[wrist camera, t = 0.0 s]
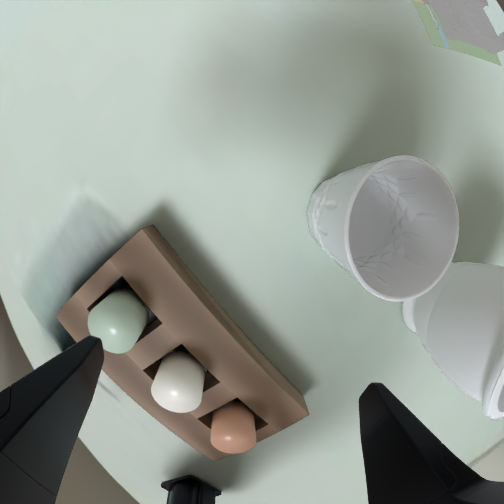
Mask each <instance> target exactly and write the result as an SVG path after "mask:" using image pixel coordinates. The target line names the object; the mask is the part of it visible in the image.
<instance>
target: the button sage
mask: <svg viewBox="0 0 504 504" xmlns="http://www.w3.org/2000/svg"><path fill="white" fill-rule="evenodd" d="M148 321H149V310H148V306H147V305H146V304H145V303H144V301H143V300H142V299H141V298H140V297H139V296H138V294H137V293H136V292H134V291H132V290H130V289H124V288H123V289H117V290H115V291H113V292H112V293H110V294H109V295H108V296H107V297H106V298H105V299H103V300H102V301H101V302H100V303H99V304H98V305H96V306H95V307H94V308H93V309H92V310H91V312H90V313H89V316H88V329H89V332H90V334H91V335H92V336H95V337H98V338H100V339H101V340H102V344H103V349H104V350H106V351H109V352H111V353H116V354H120V353H125V352H128V351H129V350H130V349H132V347H133V346H134V344H135V343H136V341H137V340H138V338H139V336H140V335H141V333H142V332H143V330H144V328H145V327H146V325H147V324H148Z"/></svg>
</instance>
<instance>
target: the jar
mask: <svg viewBox="0 0 504 504" xmlns="http://www.w3.org/2000/svg"><path fill="white" fill-rule="evenodd" d="M402 315H403V319H404V322H405V324H406V326H407V327H408V328H409V329H410V330H411V331H413V332H415V333H417V334H418V337H419V339H420V341H421V343H422V345H423V346H424V348H425V349H426V351H427V352H428V353H429V354H430V355H431V357H432V359H433V360H434V362H435V363H436V365H437V366H438V368H439V369H440V370H441V372H442V373H443V374H444V375H445V376H446V377H447V378H448V379H449V380H450V381H451V382H452V383H453V384H454V385H455V386H456V387H458V388H459V389H460V390H461V391H463V392H464V393H466V394H467V395H469V396H471V397H472V398H474V399H476V400H479V401H481V402H482V409H483V412H484V414H485V415H486V416H487V417H489V418H490V419H491V420H498V419H501V418H503V417H504V267H502V266H497V265H492V264H481V263H474V262H456V263H454V262H453V261H452V262H451V264H450V266H449V267H448V269H447V271H446V272H445V274H444V275H443V277H442V278H441V279H440V280H439V282H438V283H437V284H436V285H435V286H434V287H432V288H431V289H430V290H429V291H427V292H426V293H424V294H423V295H421V296H419V297H417V298H414V299H411V300H407V301H403V302H402Z"/></svg>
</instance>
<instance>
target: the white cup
mask: <svg viewBox="0 0 504 504" xmlns="http://www.w3.org/2000/svg"><path fill="white" fill-rule="evenodd" d="M307 218H308V225H309V231H310V232H311V234H312V235H313V237H314V238H315V240H316V241H317V243H318V245H319V246H320V247H321V248H323V249H324V250H325V252H326V253H327V254H328V255H329V256H330V257H331V258H332V259H334V261H335V262H336V263H337V264H339V265H340V266H341V267H342V268H343V269H344V270H345V271H347V272H348V273H349V274H350V275H351V276H352V277H353V278H354V279H356V280H357V281H358V282H359V283H360V284H361V285H362V286H363V287H364V288H365V289H366V290H368V291H369V292H370V293H372V294H373V295H375V296H377V297H379V298H381V299H384V300H388V301H396V302H398V301H407V300H411V299H414V298H417V297H419V296H421V295H423V294H424V293H426V292H427V291H429V290H430V289H431V288H432V287H434V286H435V285H436V284H437V283H438V282H439V280H440V279H441V278H442V277H443V275H444V274H445V272H446V271H447V269H448V267H449V266H450V264H451V262H452V259H453V257H454V254H455V251H456V247H457V243H458V238H459V212H458V206H457V202H456V199H455V196H454V193H453V191H452V189H451V187H450V185H449V183H448V181H447V180H446V179H445V177H444V176H443V175H442V173H441V172H440V171H439V170H438V169H437V168H436V167H434V166H433V165H432V164H430V163H429V162H427V161H425V160H423V159H421V158H418V157H415V156H409V155H398V156H393V157H389V158H386V159H383V160H379V161H376V162H372V163H369V164H365V165H362V166H358V167H356V168H353V169H350V170H348V171H345V172H342V173H340V174H338V175H337V176H335V177H333V178H330V179H327V180H325V181H323V182H322V184H321V185H320V186H319V187H318V188H317V189H316V190H315V191H314V193H313V194H312V196H311V199H310V203H309V206H308V209H307Z"/></svg>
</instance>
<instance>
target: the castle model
mask: <svg viewBox="0 0 504 504" xmlns="http://www.w3.org/2000/svg"><path fill="white" fill-rule="evenodd" d="M411 1H412V2H413V4H414V6H415V8H416V10H417V12H418V14H419V16H420V18H421V20H422V22H423V24H424V26H425V28H426V30H427V32H428V35H429V37H430V39H431V41H432V44H433V45H435V46H440V47H444V48H448V49H452V50H455V51H459V52H462V53H466V54H469V55H472V56H475V57H478V58H481V59H484V60H487V61H490V62H493V63H495V64H498V65H500V66H501V63H500V60H499V58H498V55H497V53H498V52H500V51H503V50H504V32H503V33H501V34H499V35H500V36H497V34H496V33H495V30H494V29H493V26H492V25H491V22H490V21H489V18H488V17H487V15H486V13H485V11H484V9H483V7H485V6H488V3H487V0H411ZM424 3H426V4H429V7H430V9H431V10H432V12H433V14H434V16H435V18H436V20H437V22H438V24H439V28H438V30H437V27H436V25H435V23H434V21H433V19H432V17H431V15H430V13H429V12H428V10H427V8H426V6H425V4H424Z"/></svg>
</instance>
